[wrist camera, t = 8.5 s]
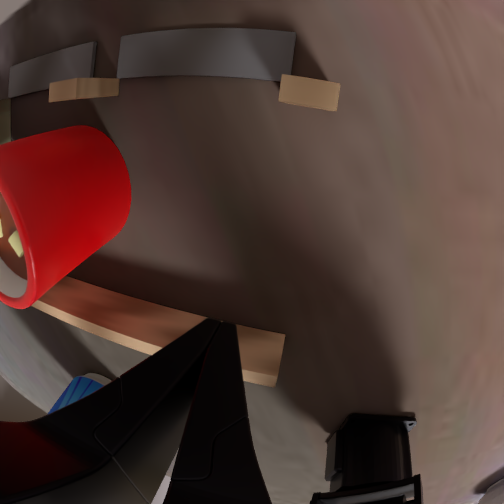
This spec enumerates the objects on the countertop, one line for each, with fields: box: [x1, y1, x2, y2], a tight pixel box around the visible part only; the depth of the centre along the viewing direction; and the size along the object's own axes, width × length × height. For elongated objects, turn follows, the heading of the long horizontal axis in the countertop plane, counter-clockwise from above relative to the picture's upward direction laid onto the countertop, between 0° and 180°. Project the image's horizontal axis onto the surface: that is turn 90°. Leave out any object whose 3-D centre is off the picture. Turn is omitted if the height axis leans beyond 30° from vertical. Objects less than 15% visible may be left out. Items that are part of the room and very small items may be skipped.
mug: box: [0, 125, 131, 309], centre depth 13 cm, size 8×12×8 cm, turn 66°
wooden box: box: [0, 28, 340, 387], centre depth 14 cm, size 23×18×5 cm
